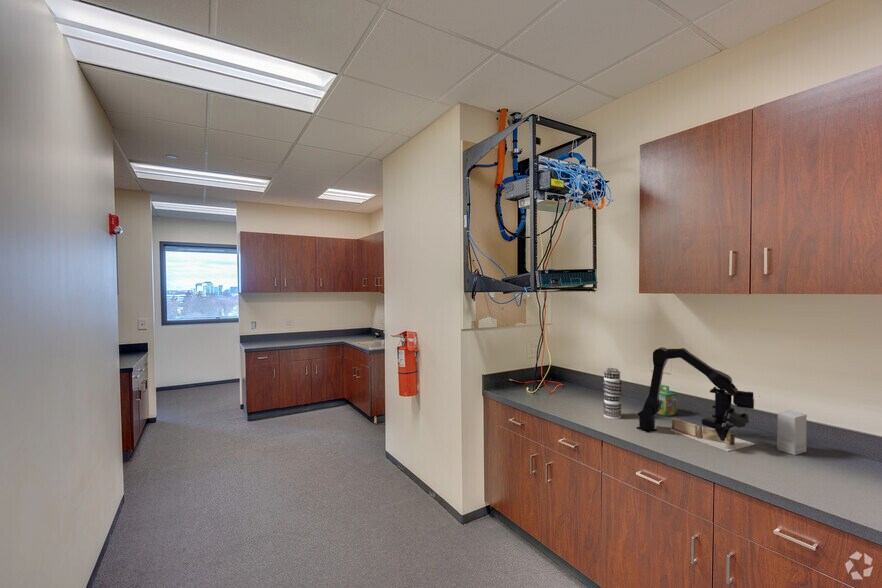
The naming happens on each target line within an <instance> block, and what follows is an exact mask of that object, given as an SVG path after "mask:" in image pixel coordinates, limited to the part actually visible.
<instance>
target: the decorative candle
mask: <svg viewBox="0 0 882 588" xmlns="http://www.w3.org/2000/svg"><path fill="white" fill-rule="evenodd" d="M603 372H604V374H603V375H604V376H603V381H602V384H603V385H602V388H603V392H602V393H603V394H604V398H603V403H602V404H603V409H602V410H603V417H604V418H606V419H610V420H620V419H621V418H622V407H621V406H622V403H621V396H622V393H621V392H622V386H621V385H622V383H623V382H622V379H621V371H619V369H617V368H613V367H608V368H605V370H603Z"/></svg>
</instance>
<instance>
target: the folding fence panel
mask: <svg viewBox="0 0 882 588" xmlns="http://www.w3.org/2000/svg"><path fill="white" fill-rule="evenodd" d="M702 427H703V438H704V439H709V440H714V441H719V442H724V443H729V444H732V445H734V444H735V438H736V435H735V432H734V431H730V430H729V431H728V434H727V436H726V438H725V441H721V440H720V438H719V436H718V434H717V432H716V430H715V429H714V428H711V427H708V426H702Z"/></svg>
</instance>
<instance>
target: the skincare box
mask: <svg viewBox="0 0 882 588" xmlns="http://www.w3.org/2000/svg"><path fill="white" fill-rule="evenodd" d="M807 417H808V415H807V414H805V413H802V412H799V411H794V410H789V409H788V410H784V411H781V412H777V424H776V425H777V427H776V428H777V435H776V436H777V439H776V444H777V445H776V450H778V451H782V452H783V453H787V454H789V455H793V456H797V455H799V454H803V453H806V452H807V424H808V423H807Z"/></svg>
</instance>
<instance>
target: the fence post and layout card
mask: <svg viewBox="0 0 882 588" xmlns="http://www.w3.org/2000/svg"><path fill="white" fill-rule="evenodd" d="M703 427H704V426H703V425H702V424H701V425H700V424H694V423H691V422H688V421H685V420H682V419H679V418H677V417H672V418H671V429H669V431H670V432H674V433H676V434H679V435H682V436H684V437H687V438H690V439H693V440H696V441H698V442H701V443H703V444H706V445H709V446H712V447H715V448H717V449H720V450H723V451H726V452H732V451H737V450H740V449H743V448H748V447H751V446H754V445H755V443H753V442H751V441H748V440H744V439H741V438H738V437H735V444H734V445H732V444H729V443H724V442H719V441H714V440H709V439H704V438H703Z"/></svg>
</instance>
